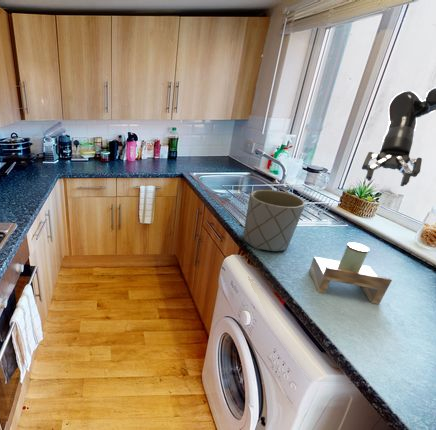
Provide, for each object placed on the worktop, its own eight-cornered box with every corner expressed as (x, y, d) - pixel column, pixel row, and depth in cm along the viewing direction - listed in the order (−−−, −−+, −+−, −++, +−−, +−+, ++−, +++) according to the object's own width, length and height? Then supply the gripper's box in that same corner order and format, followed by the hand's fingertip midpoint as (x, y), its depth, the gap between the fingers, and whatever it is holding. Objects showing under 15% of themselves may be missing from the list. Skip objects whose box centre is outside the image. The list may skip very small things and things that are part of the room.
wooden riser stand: (363, 281, 96) (373, 258, 92) (379, 304, 86) (392, 280, 82) (308, 270, 101) (316, 249, 97) (318, 291, 91) (327, 268, 87)
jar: (354, 268, 93) (365, 244, 89) (361, 277, 88) (373, 253, 84) (334, 264, 94) (344, 240, 90) (340, 274, 89) (350, 249, 86)
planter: (276, 232, 127) (288, 190, 119) (300, 255, 110) (316, 208, 102) (233, 231, 128) (242, 188, 119) (250, 254, 110) (262, 206, 102)
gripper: (373, 133, 100) (362, 172, 96) (430, 138, 92) (420, 180, 89) (367, 146, 106) (356, 183, 102) (420, 152, 98) (410, 192, 95)
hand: (385, 182), depth 95 cm, fingers open, 8 cm apart
